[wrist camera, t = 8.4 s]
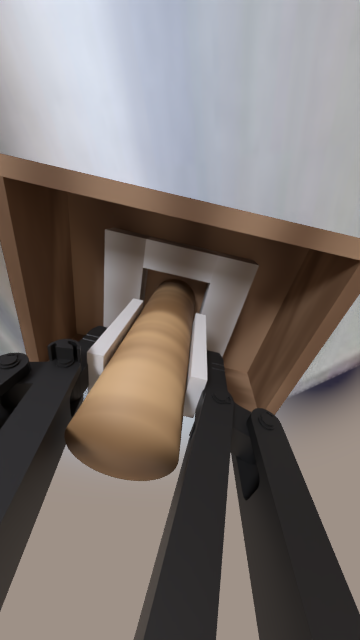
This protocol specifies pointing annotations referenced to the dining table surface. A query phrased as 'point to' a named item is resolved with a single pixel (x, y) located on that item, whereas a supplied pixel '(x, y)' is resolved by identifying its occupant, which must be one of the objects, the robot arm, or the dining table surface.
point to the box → (173, 271)
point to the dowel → (140, 394)
